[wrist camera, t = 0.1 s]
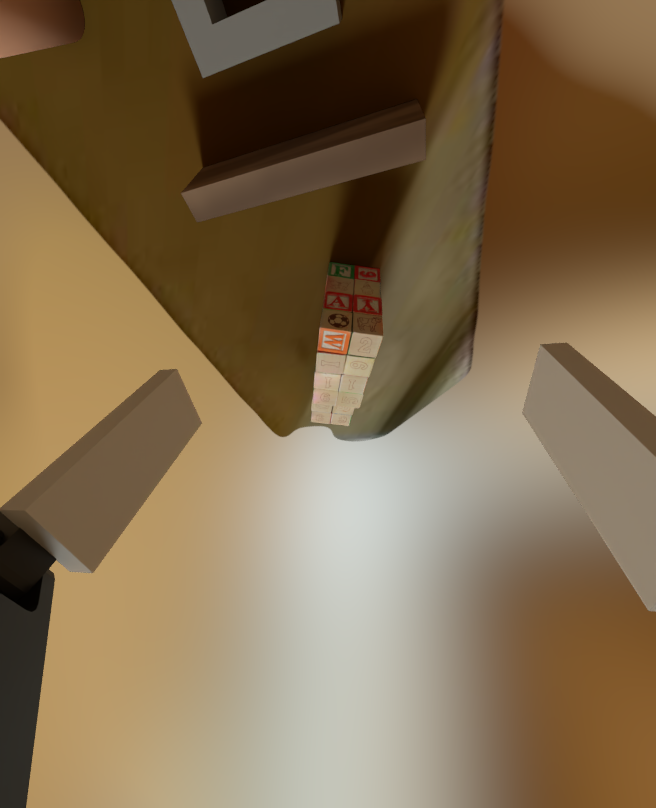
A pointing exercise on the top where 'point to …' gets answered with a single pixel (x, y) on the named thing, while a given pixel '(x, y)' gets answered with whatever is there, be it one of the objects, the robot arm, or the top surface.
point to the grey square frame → (249, 28)
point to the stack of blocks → (346, 341)
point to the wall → (310, 162)
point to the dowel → (38, 25)
